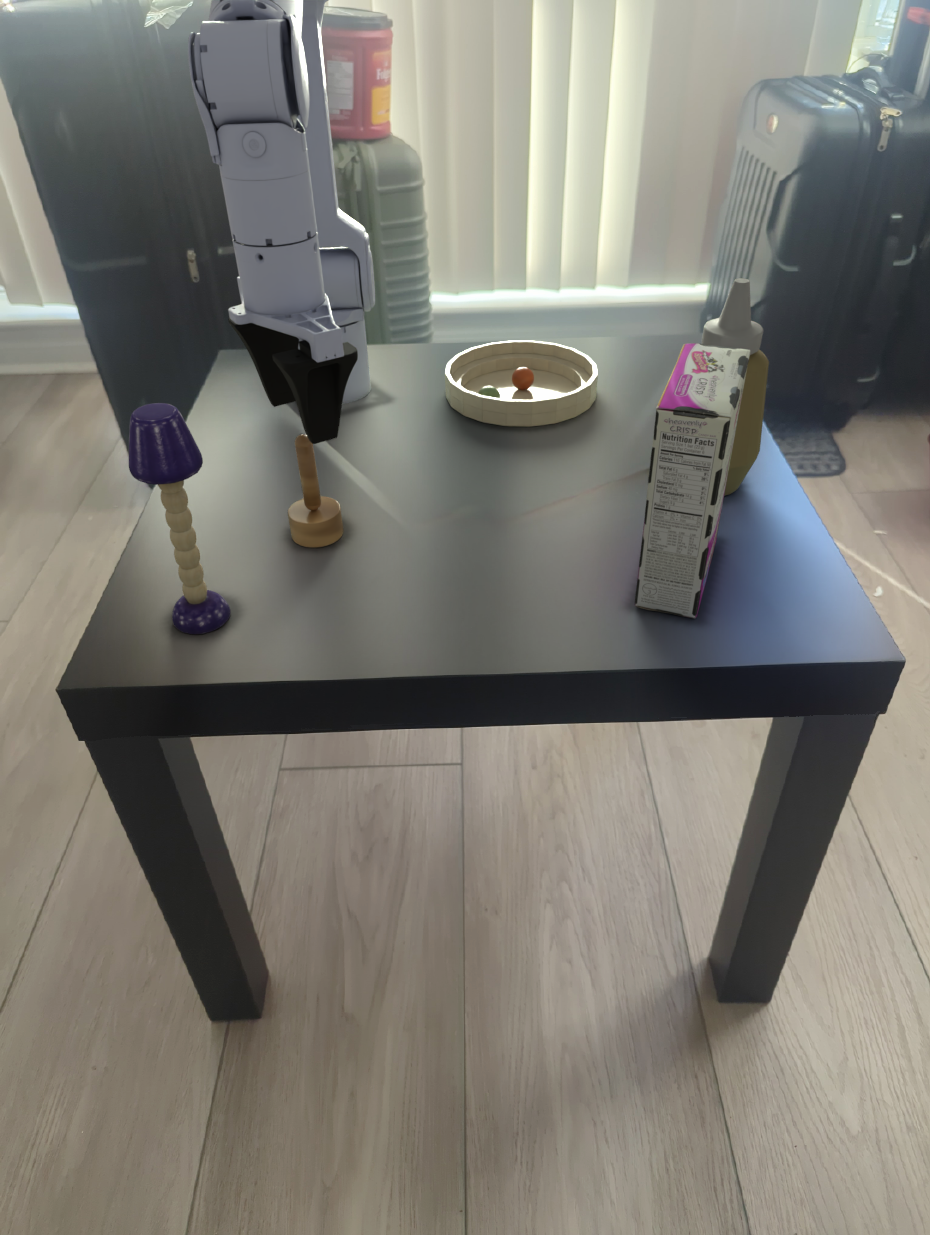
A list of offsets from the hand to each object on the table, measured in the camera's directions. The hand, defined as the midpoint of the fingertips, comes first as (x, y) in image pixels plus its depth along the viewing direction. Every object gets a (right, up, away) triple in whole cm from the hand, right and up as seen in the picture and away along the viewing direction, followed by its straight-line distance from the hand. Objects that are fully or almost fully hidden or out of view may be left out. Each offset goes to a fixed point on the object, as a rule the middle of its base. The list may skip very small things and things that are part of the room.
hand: (303, 420), depth 66 cm
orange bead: (+19, +11, +25) cm, 33 cm away
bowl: (+19, +8, +26) cm, 33 cm away
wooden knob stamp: (0, -8, +6) cm, 10 cm away
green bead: (+16, +7, +21) cm, 28 cm away
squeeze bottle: (+35, -3, +12) cm, 37 cm away
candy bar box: (+29, -12, +1) cm, 32 cm away
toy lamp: (-7, -15, -2) cm, 17 cm away
